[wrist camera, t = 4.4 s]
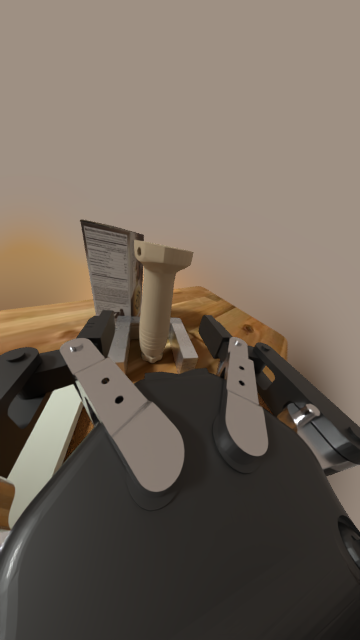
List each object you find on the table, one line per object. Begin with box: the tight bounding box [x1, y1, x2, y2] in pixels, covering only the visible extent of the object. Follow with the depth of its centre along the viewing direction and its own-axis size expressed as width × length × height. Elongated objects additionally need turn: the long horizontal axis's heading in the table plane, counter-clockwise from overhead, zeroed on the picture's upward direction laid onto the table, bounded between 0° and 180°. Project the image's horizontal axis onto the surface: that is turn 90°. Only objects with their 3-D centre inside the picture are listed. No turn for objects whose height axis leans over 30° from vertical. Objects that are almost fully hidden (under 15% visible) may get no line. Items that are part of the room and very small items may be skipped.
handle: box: [134, 240, 193, 363], centre depth 16 cm, size 5×6×15 cm
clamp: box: [108, 316, 198, 375], centre depth 20 cm, size 11×10×4 cm
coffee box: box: [80, 220, 144, 325], centre depth 24 cm, size 9×6×16 cm
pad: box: [7, 384, 83, 529], centre depth 10 cm, size 9×9×1 cm
